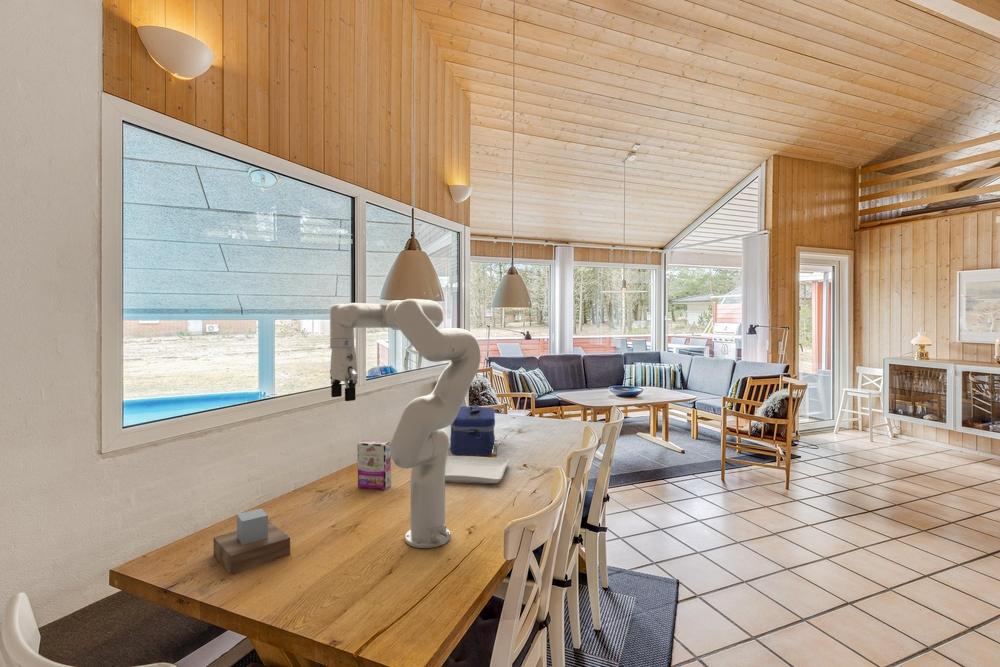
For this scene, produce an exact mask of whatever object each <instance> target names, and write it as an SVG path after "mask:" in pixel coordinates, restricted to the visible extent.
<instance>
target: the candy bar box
mask: <svg viewBox="0 0 1000 667" xmlns="http://www.w3.org/2000/svg"><path fill="white" fill-rule="evenodd" d="M391 442H392V441H382V440H380V441H379V440H361V441H360V442H358V443H357V488H358V489H359V488H361V489H369V490H380V491H385V490H387V489H389V488H390V487H391V486H392V458H391V454H390V446H391Z"/></svg>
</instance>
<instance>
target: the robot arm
mask: <svg viewBox="0 0 1000 667" xmlns="http://www.w3.org/2000/svg"><path fill="white" fill-rule="evenodd" d="M444 312H445V311H444V309H443V307H442V306H441V305H440V304H439V303H438V302H436V301H435V300H431V299H422V298H421V299H419V298H407V299H406V298H405V299H404V300H401V299H400V300H393V301H390V302H389V303H369V302H368V303H367V302H364V303H363V302H351V303H350V302H349V303H336V304H332V305H331V306H330V309H329V338H330V339H329V342H330V343H329V347H330V348H329V349H330V350H331V353H330V369H329V374H330V375H329V376H330V377H329V378H330V380H331V381H330V384H331V390H330V391H331V393H330V394H331V397H332V398H339V397H342V395H343V394H342V393H343V392H342V391H343V390H342V386H343V385H342V382H344V385H345V387H344V401H345V402H352V401H356V399H357V398H356V388H357V382H358V381H357V380H358V378H359V376H358V375H359V372H358V371H359V370H358V357H357V350H356V349H357V348H356V329H364V328H365V329H367V328H368V329H369V328H371V329H378V328H379V329H380V328H383V329H384V328H390V329H391V330H395V331H400V332H401V333H402V334H403V335H404V337H405V338H406V339H407V341H409V343H410V345H412V347H413V348H414V349H415V350H416V352H417V353H418V354H419V355H420V356H421V357H422V358H423V359H425V360H427V361H429V362H432V363H438V362H445V361H446V362H447V361H450V362H449V363H448V365H447V366H446V367H445V368H444V369H443V370H442V372H441V373H440V375H439V377H438V380H437V382H436V385H435V386H434V389H433V390H432V392H431V393H429V394H427V395H423V396H418V397H416V398H414V399H412V400H411V401H410V402H409V403H408V404H407V405H406V407H405V408H404V410H403V412H402V415H401V417H400V420H399V422H398V424H397V427H396V429H395V432H394V434H393V437H392V439H391V441H390V442H391V446H390V454H391V461H392V462H393V464H395V466H397V468H401V469H403V470H404V469H411V472H410V529H409V530H408V531H407V532H405V535H404V541H405V543H406V544H408V545H409V546H411V547H413V548H419V549H433V548H436V547H437V548H439V547H441V546H443V545H445V544H446V543H448V542H449V541H450V539H451V531H450V530H449V529H448V528H447V524H446V481H445V467H446V458H447V456H448V452H449V443H450V442H449V441H450V440H449V436H448V433H447V432H446V430H445V428H447V427H450V426H451V424H452V423H453V422H454V421H455V419H456V417H457V415H458V413H459V410H460V408H461V406H462V405H463V404H464V401H465V399H466V398H467V394H468V392H469V389H470V386H471V385H472V383H473V381H474V379H475V377H476V374H477V373H478V370H479V369H480V368H479V367H480V364H481V359H482V351H481V347H480V344H479V341H478V339H477V337H476V336H475V335H474V334H473V333H472V332H470V331H469V330H467V329H464V328H459V327H449V328H445V327H443V328H438V327H439V326H441V325H442V323H443V322H444V320H445V319H444V318H445V313H444Z"/></svg>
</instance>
